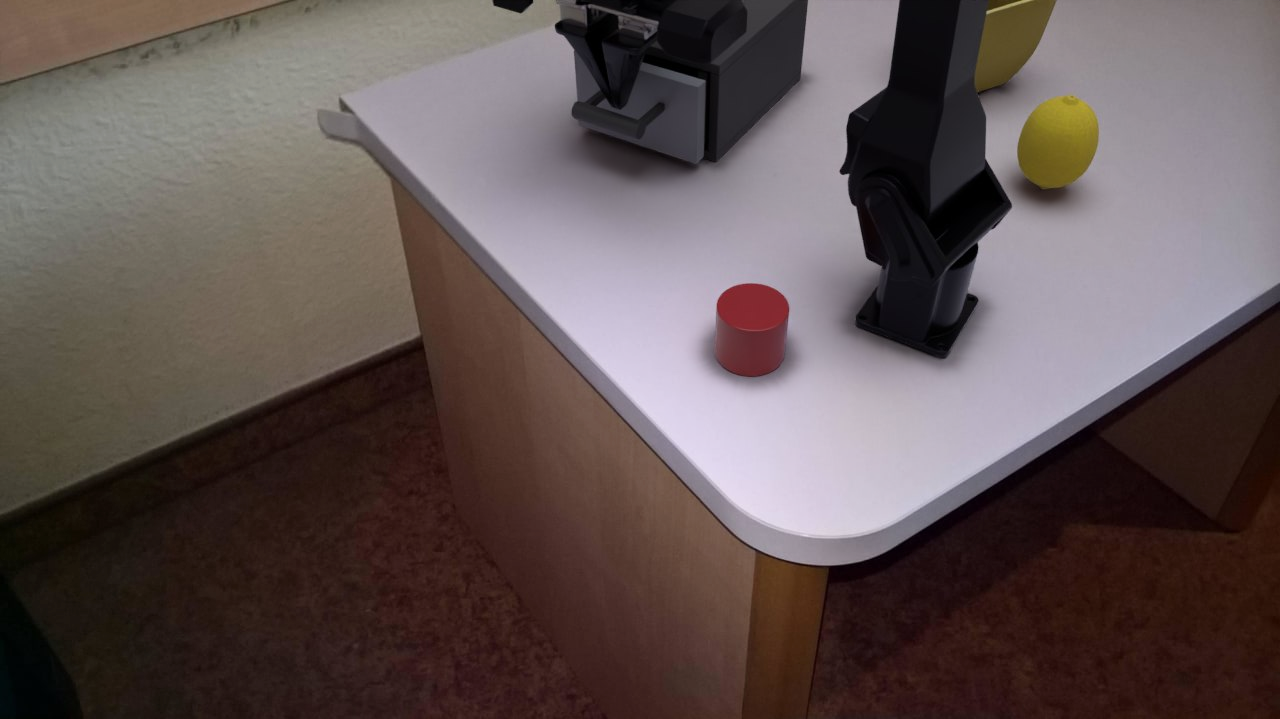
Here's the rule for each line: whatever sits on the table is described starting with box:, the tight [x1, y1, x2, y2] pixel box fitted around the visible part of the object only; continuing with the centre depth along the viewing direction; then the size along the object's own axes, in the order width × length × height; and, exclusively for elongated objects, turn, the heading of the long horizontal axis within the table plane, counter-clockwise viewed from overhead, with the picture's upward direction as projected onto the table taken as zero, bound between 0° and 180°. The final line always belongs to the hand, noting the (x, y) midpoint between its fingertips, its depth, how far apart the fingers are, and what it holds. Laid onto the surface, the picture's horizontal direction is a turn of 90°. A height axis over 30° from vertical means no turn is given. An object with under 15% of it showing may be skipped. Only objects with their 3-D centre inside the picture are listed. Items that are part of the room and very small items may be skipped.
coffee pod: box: [714, 282, 790, 377], centre depth 66 cm, size 5×5×4 cm
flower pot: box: [975, 0, 1058, 93], centre depth 89 cm, size 9×9×9 cm
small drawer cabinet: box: [646, 0, 809, 163], centre depth 88 cm, size 16×13×9 cm
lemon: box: [1016, 94, 1100, 190], centre depth 77 cm, size 6×6×8 cm
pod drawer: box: [570, 49, 711, 164], centre depth 85 cm, size 19×11×7 cm, turn 148°
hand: (619, 106), depth 79 cm, fingers closed
